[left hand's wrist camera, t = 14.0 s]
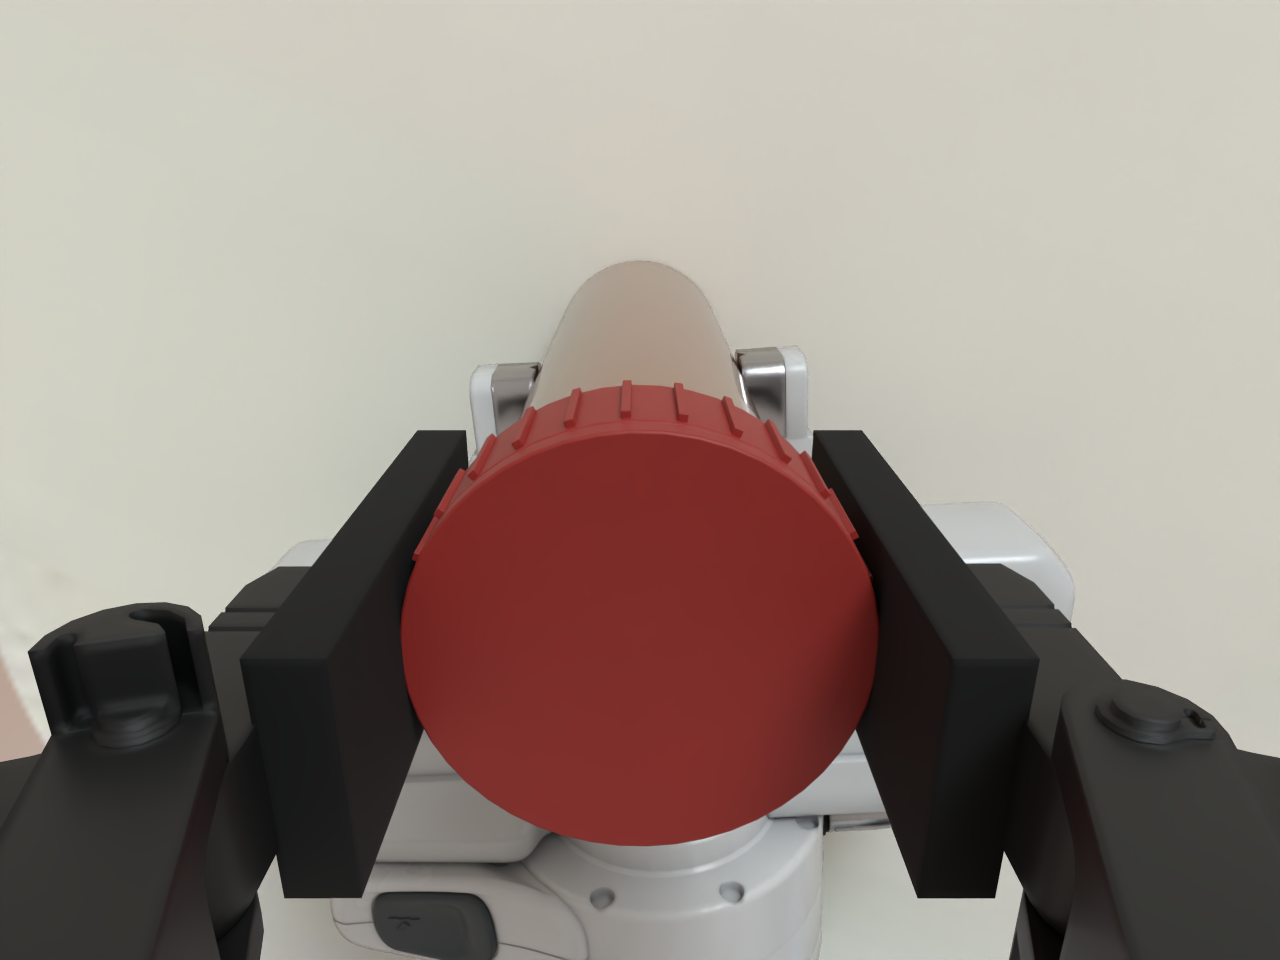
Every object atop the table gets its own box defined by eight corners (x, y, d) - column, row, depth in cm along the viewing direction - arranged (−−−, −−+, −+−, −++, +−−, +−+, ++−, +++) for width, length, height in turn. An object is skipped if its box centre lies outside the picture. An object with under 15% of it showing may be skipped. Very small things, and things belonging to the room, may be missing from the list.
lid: (484, 777, 13) (459, 878, 11) (381, 417, 11) (331, 470, 9) (864, 725, 13) (901, 820, 11) (829, 344, 11) (867, 384, 9)
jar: (577, 426, 27) (490, 820, 11) (547, 275, 26) (395, 488, 10) (727, 402, 27) (854, 772, 11) (705, 247, 25) (818, 419, 9)
